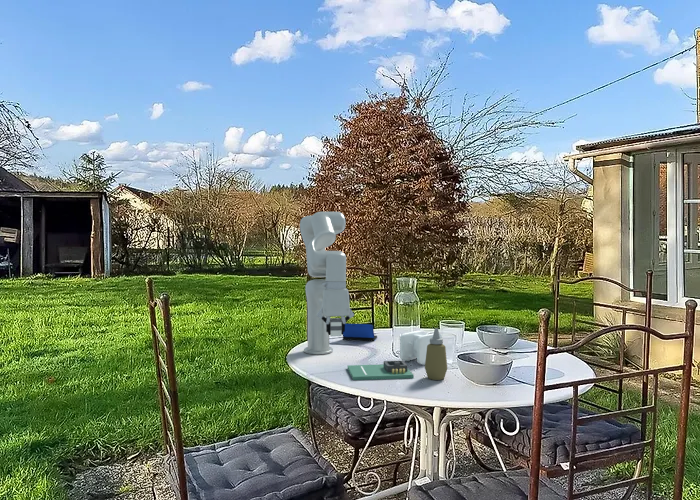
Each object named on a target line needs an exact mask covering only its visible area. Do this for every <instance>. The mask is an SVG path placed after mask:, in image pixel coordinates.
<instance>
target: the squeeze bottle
mask: <svg viewBox="0 0 700 500" xmlns="http://www.w3.org/2000/svg"><path fill="white" fill-rule="evenodd" d="M433 333H434V334H433V338H430V343H431V344H429V345H427V352H426V361H425V365H424V370H425V373H426V376H427V379H429V380H433V381H440V380H441V381H442V380H444V379H445V378H446V377H445V376H446V374H447V371H448V360H447V349H446V346H445V344H443V343H444V339H443V337H442V338H440V336H439V333H440V332H439V328H434V331H433Z"/></svg>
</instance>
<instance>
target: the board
mask: <svg viewBox="0 0 700 500" xmlns="http://www.w3.org/2000/svg"><path fill="white" fill-rule="evenodd" d="M408 367H409V366H408V364H407V363H406V361H404V360H401V359H400V360H384V361H383V364H358V365H357V364H354V365H353V364H351V365H347V371H348V372H349V375H350V376H351V379H352V380H353V381H365V380H367V381H370V380H372V381H373V380H374V381H375V380H398V379H399V380H400V379H415V378H414V376H415V375H414V373H413V372H412V371H411V370H410V369H409V368H408Z"/></svg>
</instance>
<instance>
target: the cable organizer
mask: <svg viewBox="0 0 700 500" xmlns="http://www.w3.org/2000/svg"><path fill="white" fill-rule="evenodd" d="M433 334H434V332H433V333H428V334H427V332H426V331H425V330H415V331H410V332H404V333H402V334H401V335H400V336H399V359H400V361H401V360H403V361H404V362H410V360H411V361H412V360H416V363H418V364H419V365H421V366H425V361H426V352H427V345H429V344H431V343H430V338H433ZM439 336H440V338H442V339H443V334H442V333H440V332H439ZM416 358H417V359H416Z"/></svg>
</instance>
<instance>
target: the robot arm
mask: <svg viewBox="0 0 700 500" xmlns="http://www.w3.org/2000/svg"><path fill="white" fill-rule="evenodd" d="M346 223H347V222H346V218H345V215H344V214H343V213H342V212H340V211H318V212H315V213H314V214H313V215H306V216H304V217H302V218H301V219H300V221H299V230H300V234H301V237H302V242H303V243H304V245H305V252H306V266H307V272H308V275H309V276H310V277H312V278H316V279H311V280H308V281H307V283H306V284H305V295H306V304H307V305H306V306H307V307H306V308H307V347H304V349H303V350H304V351H303V352H304V353H306V354H308V355H309V354H310V355H327V354H331V353H333V351H334V348H333V347H331V346H330V334H331V330H330V326H331V324H330V318H338V317H340V318H341V320H342V330H341V336H343V332H345V323H348V321H349V320H350V319H352V318H353V317H354V316H355V313H354V312H353V311H352V308H351V307H350V304H351V303H350V294H349V289H348V288H347V282H346V281H347V256H346V254H345V253H344V252H343V251H341V250H326V248H328V247H330V246H332V245H333V243H335V241H336V239H337V236H336V235H338V234H341V233H343V231H344V230H345V229H346ZM318 278H321V279H318Z"/></svg>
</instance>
